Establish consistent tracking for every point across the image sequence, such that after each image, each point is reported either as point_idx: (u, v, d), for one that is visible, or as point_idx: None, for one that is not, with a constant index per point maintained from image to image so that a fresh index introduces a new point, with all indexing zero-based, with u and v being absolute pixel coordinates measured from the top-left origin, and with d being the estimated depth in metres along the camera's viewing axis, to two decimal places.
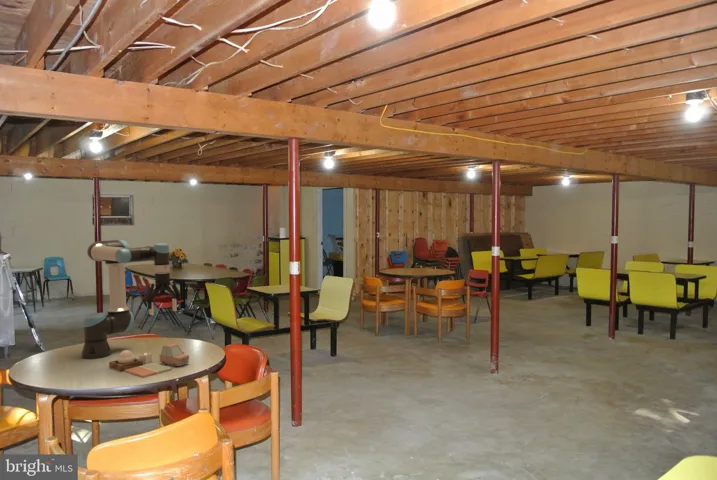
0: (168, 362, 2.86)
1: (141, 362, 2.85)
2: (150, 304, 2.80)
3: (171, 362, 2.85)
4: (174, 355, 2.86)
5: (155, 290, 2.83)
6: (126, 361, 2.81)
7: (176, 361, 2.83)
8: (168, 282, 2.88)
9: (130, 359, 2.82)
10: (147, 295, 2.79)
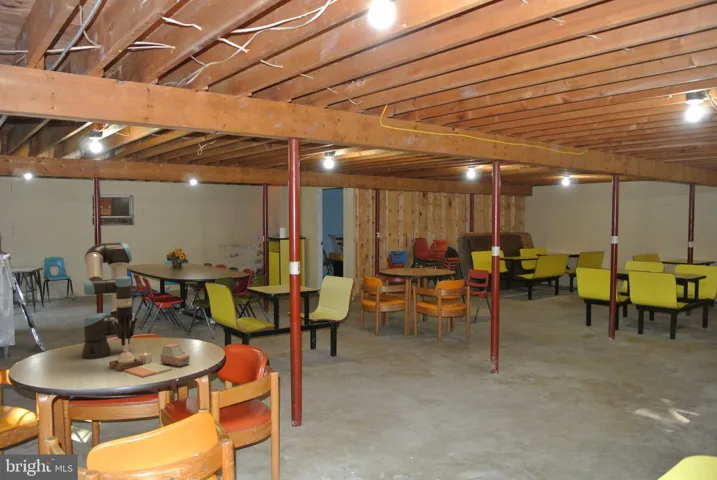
0: (169, 362, 2.86)
1: (141, 362, 2.85)
2: (123, 341, 2.82)
3: (172, 362, 2.85)
4: (175, 355, 2.85)
5: (121, 326, 2.82)
6: (126, 362, 2.81)
7: (177, 361, 2.83)
8: (130, 315, 2.85)
9: (130, 360, 2.82)
10: (117, 333, 2.80)
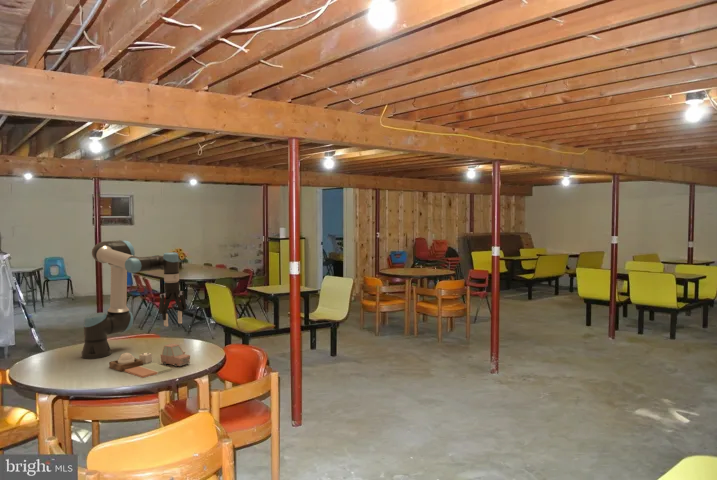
0: (169, 362, 2.86)
1: (141, 362, 2.85)
2: (164, 315, 2.83)
3: (172, 362, 2.85)
4: (175, 355, 2.85)
5: (166, 300, 2.85)
6: None
7: (177, 361, 2.83)
8: (178, 291, 2.88)
9: (130, 361, 2.82)
10: (160, 307, 2.82)
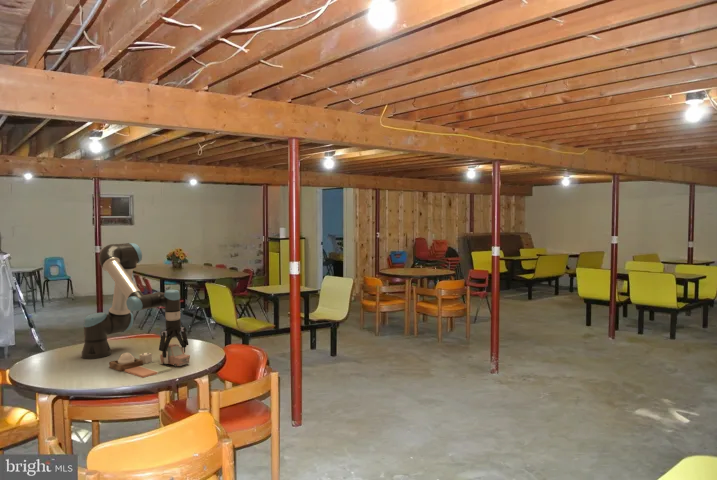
0: (169, 362, 2.86)
1: (141, 362, 2.85)
2: (165, 353, 2.84)
3: (172, 362, 2.84)
4: (175, 355, 2.85)
5: (167, 338, 2.86)
6: None
7: (177, 361, 2.82)
8: (179, 328, 2.89)
9: (130, 361, 2.82)
10: (161, 344, 2.82)
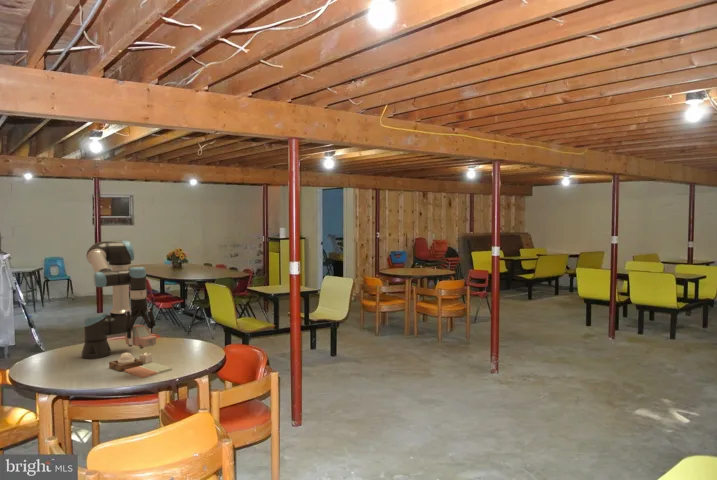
0: (134, 343, 2.70)
1: (141, 362, 2.85)
2: (129, 333, 2.68)
3: (137, 343, 2.69)
4: (140, 336, 2.69)
5: (132, 318, 2.70)
6: None
7: (142, 342, 2.67)
8: (145, 308, 2.74)
9: (130, 361, 2.82)
10: (125, 324, 2.67)
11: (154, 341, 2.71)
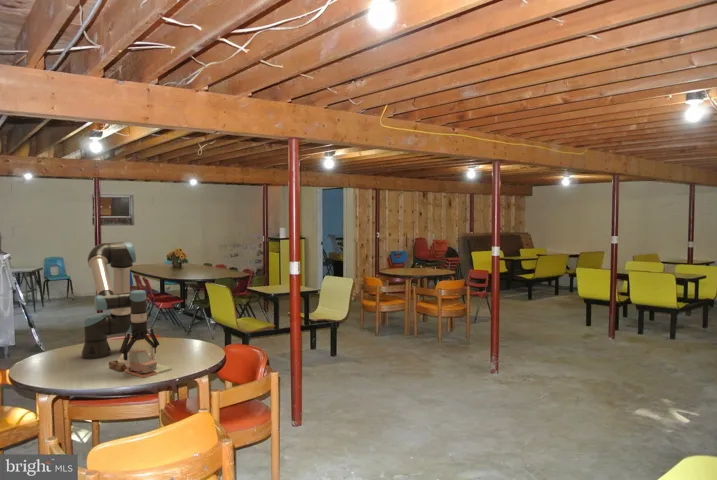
0: (134, 369, 2.71)
1: None
2: (126, 355, 2.67)
3: (137, 369, 2.69)
4: (141, 361, 2.70)
5: (131, 340, 2.70)
6: None
7: (143, 368, 2.67)
8: (145, 331, 2.74)
9: None
10: (122, 346, 2.66)
11: (154, 366, 2.71)
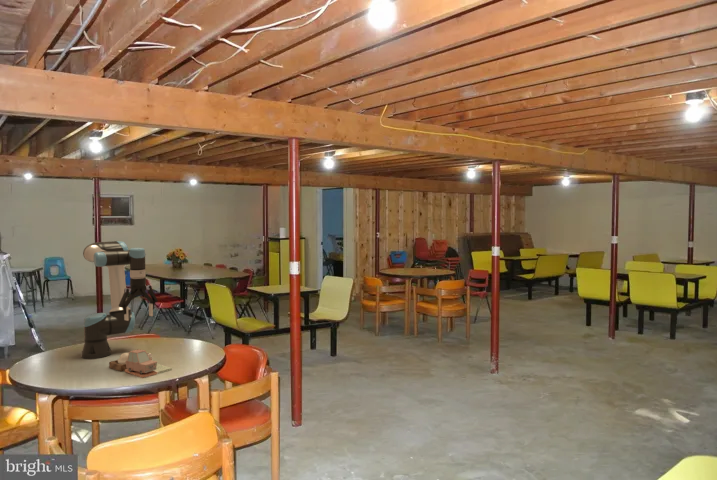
0: (134, 369, 2.71)
1: None
2: (125, 309, 2.77)
3: (137, 369, 2.69)
4: (141, 361, 2.70)
5: (130, 295, 2.80)
6: None
7: (143, 368, 2.67)
8: (144, 287, 2.84)
9: None
10: (122, 300, 2.76)
11: (154, 366, 2.71)
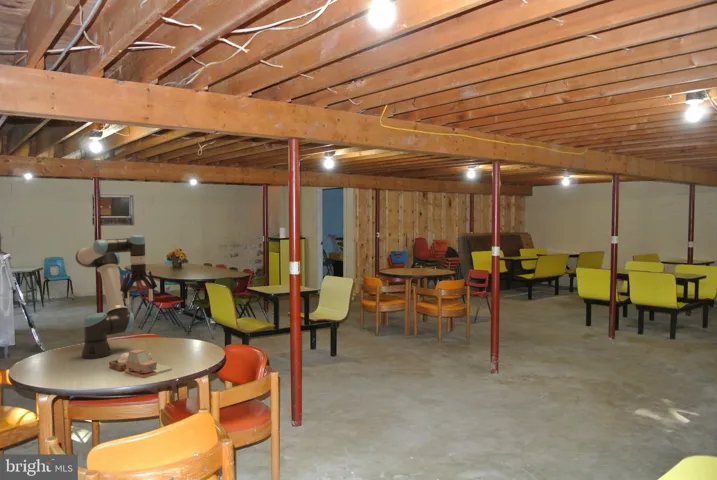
0: (134, 369, 2.71)
1: None
2: (126, 294, 2.89)
3: (137, 369, 2.69)
4: (141, 361, 2.70)
5: (131, 280, 2.92)
6: None
7: (143, 368, 2.67)
8: (144, 273, 2.97)
9: None
10: (123, 285, 2.88)
11: (154, 366, 2.71)
